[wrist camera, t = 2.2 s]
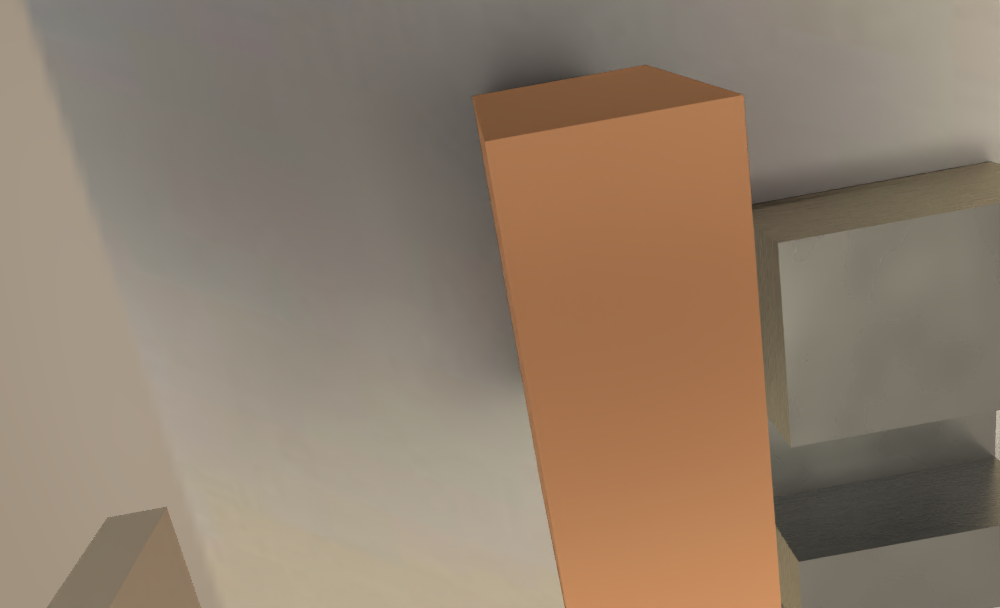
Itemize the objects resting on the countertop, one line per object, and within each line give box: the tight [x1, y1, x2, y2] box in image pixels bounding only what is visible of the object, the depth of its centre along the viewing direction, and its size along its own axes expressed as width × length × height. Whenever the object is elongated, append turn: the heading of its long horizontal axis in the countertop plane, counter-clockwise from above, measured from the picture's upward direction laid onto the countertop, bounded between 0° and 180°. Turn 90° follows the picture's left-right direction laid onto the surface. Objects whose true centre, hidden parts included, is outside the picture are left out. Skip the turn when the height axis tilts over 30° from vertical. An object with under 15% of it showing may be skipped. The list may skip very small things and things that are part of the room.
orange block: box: [472, 65, 781, 608], centre depth 18 cm, size 9×4×10 cm, turn 10°
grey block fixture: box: [752, 162, 1000, 608], centre depth 25 cm, size 20×7×4 cm, turn 10°
